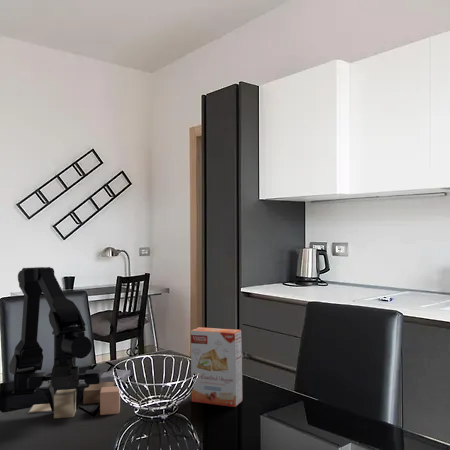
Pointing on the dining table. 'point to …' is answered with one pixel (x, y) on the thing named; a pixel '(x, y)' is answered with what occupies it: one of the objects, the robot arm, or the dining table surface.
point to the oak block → (65, 403)
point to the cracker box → (216, 366)
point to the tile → (40, 408)
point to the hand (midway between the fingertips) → (65, 410)
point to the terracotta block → (109, 400)
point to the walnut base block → (94, 392)
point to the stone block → (109, 377)
